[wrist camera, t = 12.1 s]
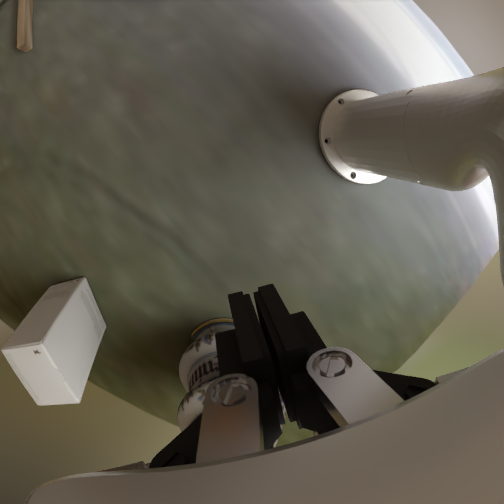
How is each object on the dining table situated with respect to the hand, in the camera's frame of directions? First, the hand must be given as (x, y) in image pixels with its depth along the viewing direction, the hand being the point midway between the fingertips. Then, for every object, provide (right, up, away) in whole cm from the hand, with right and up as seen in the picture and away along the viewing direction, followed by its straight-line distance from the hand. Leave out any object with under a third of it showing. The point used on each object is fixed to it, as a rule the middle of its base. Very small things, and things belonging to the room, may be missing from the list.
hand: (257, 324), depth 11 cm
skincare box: (-24, -5, +27) cm, 36 cm away
